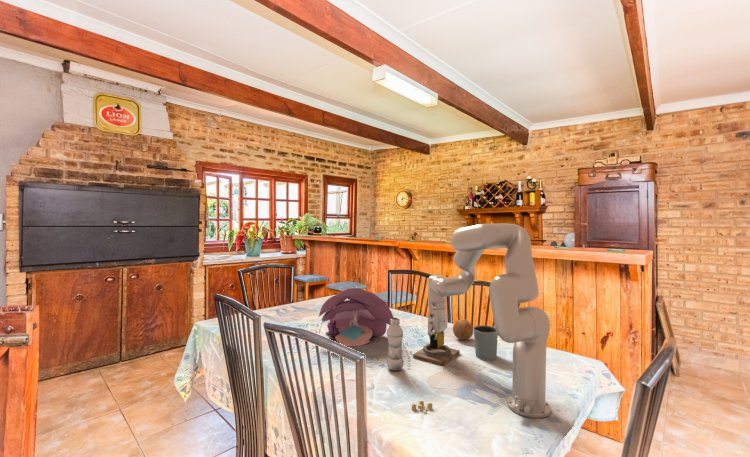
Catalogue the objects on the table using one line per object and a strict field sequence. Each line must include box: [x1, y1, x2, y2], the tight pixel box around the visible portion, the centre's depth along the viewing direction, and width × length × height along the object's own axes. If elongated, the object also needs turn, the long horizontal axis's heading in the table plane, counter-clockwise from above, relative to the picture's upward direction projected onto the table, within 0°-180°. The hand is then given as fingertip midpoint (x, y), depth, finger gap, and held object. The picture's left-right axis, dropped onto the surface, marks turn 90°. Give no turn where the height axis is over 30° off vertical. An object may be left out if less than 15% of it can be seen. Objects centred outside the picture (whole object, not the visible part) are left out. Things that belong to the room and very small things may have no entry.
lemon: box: [432, 330, 445, 349], centre depth 151 cm, size 6×6×8 cm
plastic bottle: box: [386, 317, 404, 372], centre depth 137 cm, size 6×7×20 cm
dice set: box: [411, 400, 433, 414], centre depth 109 cm, size 5×5×2 cm
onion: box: [452, 318, 474, 341], centre depth 171 cm, size 10×10×10 cm
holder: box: [412, 343, 461, 367], centre depth 151 cm, size 16×14×3 cm
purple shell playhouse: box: [318, 287, 395, 347], centre depth 172 cm, size 35×24×28 cm
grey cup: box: [473, 325, 499, 361], centre depth 150 cm, size 10×10×12 cm
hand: (437, 345), depth 151 cm, fingers closed on lemon, 5 cm apart
